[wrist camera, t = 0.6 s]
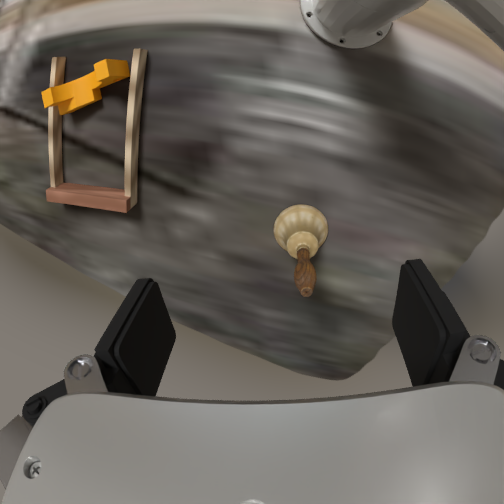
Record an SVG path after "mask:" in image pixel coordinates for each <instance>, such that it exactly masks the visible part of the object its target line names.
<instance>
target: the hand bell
mask: <svg viewBox="0 0 504 504" xmlns="http://www.w3.org/2000/svg"><path fill="white" fill-rule="evenodd" d="M327 234H328V224H327V221H326V218H325V217H324V215H323V214H322V213H321V212H320V211H319V210H317V209H316V208H314V207H312V206H309V205H294V206H291V207H289V208H287V209H285V210H284V211H282V212H281V213H280V214H279V216H278V217H277V219H276V221H275V223H274V236H275V239H276V241H277V242H278V244H279V245H280V246H281V247H282V248H283V249H285V250H286V251H288V253H289V254H290V255H291V256H292V257H294V258H295V259H298V264H297V265H296V267H295V272H294V280H295V284H296V286H297V288H298V289H299V291H300V292H301V295H302V296H304V297H309V296H310V295H311V294H312V292H313V289H314V287H315V284H316V271H315V268H314V266H313V265H312V263H311V262H310V258H311V257H313V256H314V255H315V254H316V252H317V250H318V248H319V247H320V246H321V245H322V244H323V243H324V241H325V240H326V237H327Z"/></svg>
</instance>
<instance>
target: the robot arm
mask: <svg viewBox="0 0 504 504" xmlns="http://www.w3.org/2000/svg"><path fill="white" fill-rule="evenodd" d="M427 1H428V0H300V9H301V13H302V16H303V18H304V20H305V22H306V24H307V25H308V26H309V27H310V29H311V30H312V31H313V32H314V33H315V34H316V35H317V36H319V37H320V38H322V39H323V40H325V41H327V42H329V43H331V44H333V45H336V46H339V47H342V48H350V49H358V48H364V47H368V46H371V45H373V44H375V43H377V42H379V41H380V40H381V39H383V38H384V37H385V36H386V34H387V33H388V31H389V29H390V27H391V24H392V21H394V20H396V19H398V18H400V17H402V16H404V15H406V14H408V13H410V12H412V11H414V10H416V9H418V8H419V7H421V6H423V5H424V4H425V3H426V2H427ZM444 1H446V2H448V3H449V4H450V5H452V6H453V7H454V8H455V9H457V10H458V11H459V12H460V13H462V14H463V15H464V16H465V17H467V18H468V19H469V20H470V21H471V22H472V23H474V24H475V25H476V26H477V27H478V28H479V29H480V30H481V31H483V32H484V33H485V34H486V35H487V36H488V37H489V38H490V39H491V40H492V41H493V42H495V43H496V44H497V45H498V46H499V47H500V48H501V49H502V50H503V51H504V0H444ZM307 15H310V16H311V17H307ZM377 33H379V36H378V35H377ZM340 40H342V41H343V43H340ZM392 325H393V329H394V332H395V335H396V337H397V340H398V343H399V346H400V349H401V352H402V354H403V358H404V360H405V364H406V367H407V370H408V373H409V376H410V379H411V382H412V386H413V387H409V388H402V389H395V390H388V391H381V392H374V393H366V394H358V395H349V396H339V397H328V398H314V399H298V400H274V401H222V400H220V401H219V400H196V399H179V398H167V397H155V396H156V393H157V390H158V387H159V384H160V382H161V379H162V375H163V373H164V370H165V367H166V365H167V362H168V359H169V356H170V353H171V351H172V348H173V345H174V342H175V339H176V333H175V330H174V327H173V324H172V322H171V319H170V316H169V314H168V311H167V308H166V305H165V303H164V300H163V297H162V294H161V291H160V288H159V285H158V283H157V282H154V281H153V279H151V278H147V279H138V280H137V281H136V282H135V284H134V285H133V287H132V288H131V290H130V291H129V293H128V295H127V296H126V298H125V300H124V301H123V303H122V304H121V306H120V308H119V309H118V311H117V312H116V314H115V316H114V317H113V319H112V321H111V322H110V324H109V326H108V327H107V329H106V331H105V332H104V334H103V336H102V337H101V339H100V341H99V343H98V344H97V346H96V348H95V351H96V353H95V355H94V356H92V355H88V354H84V355H80V356H77V357H75V358H73V359H72V360H71V361H70V362H69V363H68V364H67V365H66V367H65V369H64V379H63V380H62V381H60V382H58V383H56V384H54V385H52V386H50V387H48V388H46V389H45V390H43V391H41V392H39V393H37V394H35V395H33V396H32V397H30V398H29V399H28V400H27V401H26V403H25V404H24V406H23V410H22V414H23V416H22V417H21V416H20V415H17V416H16V417H15V418H14V419H13V420H12V421H10V422H9V423H8V424H7V425H6V426H5V427H4V428H2V429H1V430H0V480H1V482H2V484H3V486H4V488H5V489H6V491H5V494H4V497H3V501H2V504H504V361H503V360H501V359H500V349H499V347H498V345H497V344H496V342H494V341H493V340H492V339H491V338H489V337H487V336H483V335H474V336H471V337H470V335H469V333H468V331H467V330H466V328H465V326H464V324H463V322H462V321H461V319H460V317H459V316H458V314H457V312H456V311H455V309H454V307H453V306H452V304H451V302H450V301H449V299H448V297H447V296H446V294H445V293H444V292H443V291H442V290H441V289H440V287H439V286H438V284H437V282H436V281H435V279H434V278H433V276H432V275H431V273H430V272H429V270H428V269H427V267H426V266H425V264H424V263H423V261H422V260H421V259H415V260H407V261H406V262H405V264H403V265H402V266H401V270H400V277H399V284H398V290H397V296H396V302H395V308H394V313H393V319H392Z"/></svg>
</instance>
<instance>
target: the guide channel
mask: <svg viewBox="0 0 504 504" xmlns="http://www.w3.org/2000/svg"><path fill="white" fill-rule="evenodd" d="M147 51H148V50H144V49H134V52H133V60H132V68H131V76H130V86H129V97H128V109H127V124H126V144H125V190H123V189H115V188H107V187H98V186H90V185H81V184H72V183H63V168H62V115H60V113H59V109H58V105H57V106H52V107H49V122H48V134H49V165H50V180H51V187H50V188H48V189H47V190H46V196H47V201H50V202H57V203H64V204H71V205H78V206H84V207H91V208H98V209H105V210H111V211H118V212H124V213H127V212H128V211H129V210H130V209H131V208H132V207H133V206H134V205H136V204H137V171H138V145H139V128H140V114H141V103H142V92H143V83H144V74H145V66H146V58H147ZM65 61H66V57H54V58H52V65H51V77H50V87H55V86H59V85H62V84H63V83H64V71H65Z"/></svg>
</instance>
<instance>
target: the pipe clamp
mask: <svg viewBox="0 0 504 504" xmlns="http://www.w3.org/2000/svg"><path fill="white" fill-rule="evenodd" d="M94 68H95V71H93V72H92V73H90V74H88V75H86V76H84V77H81V78H79V79H77V80H74V81H71V82H69V83H66V84H62V85H59V86H55V87H50V88H48V89H47V90H45V91H43V92H42V97H43V102H44V107H45V108H47V107H52V106H57V105H58V109H59V113H60V115H64V114H68V113H72V112H74V111H76V110H78V109H80V108H82V107H85V106H87V105H89V104H91V103H94V102H96V101H98V100H101V99H102V96H101V92H100V88H102V87H105V86H107V85H110V84H112V83H114V82H117V81H119V80H122V79H124V78H127V77H130V72H129V68H128V63H127V61H124V60H113V59H104V60H102V61H100V62H98V63H96V64H94Z"/></svg>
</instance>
